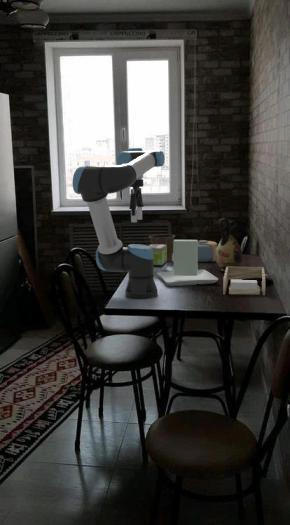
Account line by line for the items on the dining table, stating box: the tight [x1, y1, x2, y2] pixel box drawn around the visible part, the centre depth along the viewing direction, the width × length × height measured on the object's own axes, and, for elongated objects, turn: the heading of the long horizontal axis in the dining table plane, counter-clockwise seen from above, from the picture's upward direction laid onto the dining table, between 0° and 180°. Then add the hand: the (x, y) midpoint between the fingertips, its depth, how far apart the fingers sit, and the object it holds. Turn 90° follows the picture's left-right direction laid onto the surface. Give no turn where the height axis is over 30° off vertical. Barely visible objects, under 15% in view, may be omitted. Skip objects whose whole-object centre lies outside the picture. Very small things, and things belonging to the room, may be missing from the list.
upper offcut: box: [230, 279, 258, 289], centre depth 247 cm, size 7×12×3 cm, turn 82°
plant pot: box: [148, 234, 176, 263], centre depth 333 cm, size 16×16×16 cm
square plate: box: [156, 269, 219, 287], centre depth 275 cm, size 27×27×4 cm
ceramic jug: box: [215, 217, 243, 272], centre depth 298 cm, size 17×15×30 cm
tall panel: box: [173, 239, 199, 276], centre depth 273 cm, size 5×12×18 cm, turn 79°
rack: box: [222, 266, 266, 296], centre depth 258 cm, size 32×19×7 cm, turn 169°
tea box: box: [148, 243, 168, 275], centre depth 301 cm, size 15×10×15 cm
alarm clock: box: [198, 239, 218, 263], centre depth 337 cm, size 19×20×12 cm
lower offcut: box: [228, 285, 261, 295], centre depth 247 cm, size 7×14×3 cm, turn 81°
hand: (136, 220), depth 271 cm, fingers open, 13 cm apart
